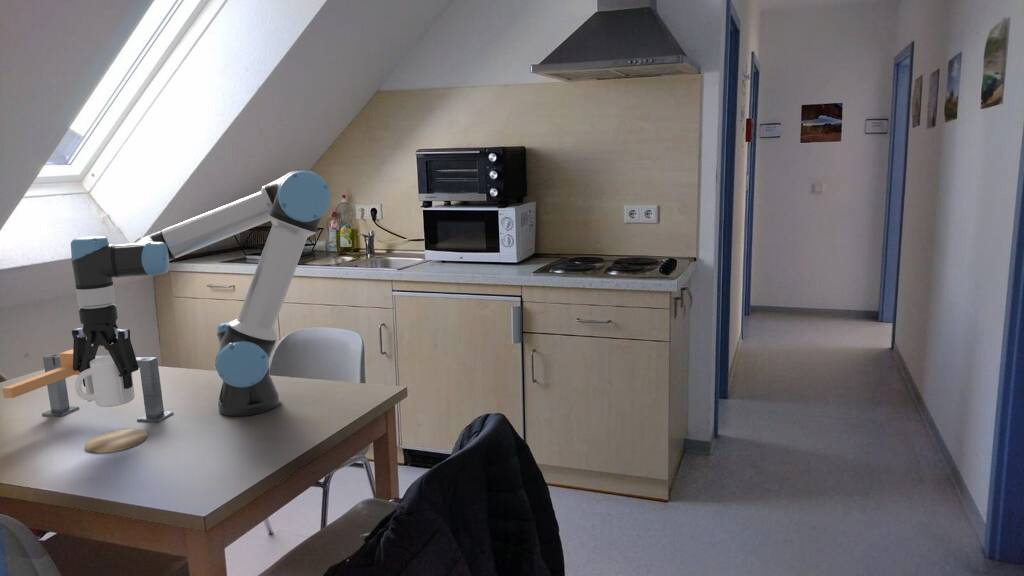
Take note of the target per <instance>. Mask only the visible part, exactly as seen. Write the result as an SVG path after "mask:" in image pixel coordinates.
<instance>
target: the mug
mask: <svg viewBox="0 0 1024 576" xmlns="http://www.w3.org/2000/svg"><path fill="white" fill-rule="evenodd" d="M102 356H103V357H99V358H95V359H93V360H91V361H90V368H89V369H86V370H84V371H82V372H81V373H80V374H79V375H77V377H76V378H75V381H74V389H75V393H76V395H77V396H78V397H79V398H80V399H82V400H84V401H87V400H93V401H95V404H96V405H97V406H98V407H101V408H111V407H119V406H122V405H123V406H124V405H125V404H129V403H130V402H132V401H133V400H134V399H135V387H134V380H133V373H132V374H131V376H132V384H133V385H132V387H131V394H132V400H131V401H129V402H126V403H124V404H121V399H120V391H119V384H118V375H120V372H119V370H118V368H117V367H116V365H115V363H114V361H113V359H112V357H111V355H110V354H109V355H102ZM124 369H125V368H124ZM89 375H91V376H92V384H93V391H94V394H86V393H85V392H84V390H83V388H82V385H83V379H84V378H85V377H87V376H89Z"/></svg>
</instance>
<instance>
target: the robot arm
mask: <svg viewBox="0 0 1024 576" xmlns="http://www.w3.org/2000/svg"><path fill="white" fill-rule="evenodd" d="M330 203H331V191H330V188H329V185H328V183H327V182H326V180H325V179H324V178H323V177H322V176H321V175H320V174H318V173H316V172H314V171H311V170H308V169H295V170H291V171H289V172H287V173H286V174H285V175H283V176H281V177H280V178H278V179H276V180H273V181H272V182H269V183H267V184H265V185H263V186H262V187H261V188H260V191H258V192H256V193H253V194H250V195H248V196H245V197H243V198H240V199H238V200H235V201H232V202H231V203H228V204H225V205H222V206H220V207H218V208H215V209H213V210H209V211H207V212H205V213H202V214H200V215H196V216H195V217H192V218H189V219H187V220H184V221H183V222H179V223H177V224H174V225H172V226H169V227H166V228H164V229H162V230H159V231H156V232H153V233H152V234H148V235H144V236H142V237H139V238H137V239H136V240H135V241H134V242H133V243H124V244H122V243H120V244H116V243H115V244H112V243H111V244H110V242H109V240H108V237H106V236H104V235H103V236H102V235H98V236H97V235H95V236H94V235H91V236H81V237H75V238H74V239H72V240H71V242H70V253H71V258H70V261H71V265H72V270H73V278H74V283H75V290H76V291H75V292H76V301H77V305H78V306H79V309H78V316H79V321H80V324H82V325H83V326H81V327H78V328H74V329H72V330H71V334H72V340H73V347H72V349H73V370H74V371H79V372H80V373H81V372H82V371H84V370H86V369H89V368H90V361H91V360H93V359H95V357H96V356H97V354H98V349H99V347H103V348H104V350H107V351H108V354H109V355H111V357H112V359H113V361H114V363H115V365H116V367H117V368H118V370H119V372H120V375H118V384H119V391H120V399H121V404H123V405H125V404H124V403H126V402H129V401H131V400H132V394H131V387H132V385H133V386H134V383H133V384H132V378H133V373H134V372H137V371H138V370H140V368H139V367H138V364H137V360H136V357H137V356H136V354H135V351H134V348H133V343H132V341H131V330H130V329H129V328H126V329H120V328H119V327H118V325H117V320H118V309H117V305H116V304H115V303H114V302H115V301H116V297H115V287H114V278H126V277H142V276H144V277H146V276H150V277H153V276H157V275H165V274H167V273H168V272H169V271H170V261H173V260H175V259H177V258H180V257H183V256H184V255H187V254H190V253H192V252H195V251H197V250H199V249H202V248H205V247H207V246H210V245H212V244H215V243H217V242H220V241H222V240H224V239H228V238H230V237H232V236H235V235H237V234H241V233H242V232H244V231H247V230H249V229H253V228H256V227H257V226H260V225H263V224H265V223H268V222H271V225H272V226H271V228H270V231H269V232H268V233H269V234H268V236H267V239H266V242H265V245H264V246H263V249H262V252H261V255H260V258H259V260H258V263H257V266H256V269H255V271H254V273H253V276H252V279H251V282H250V284H249V286H248V287H249V288H248V290H247V291H246V292H247V293H246V295H245V298H244V301H243V304H242V307H241V308H240V311H239V314H238V317H237V318H236V319H233V320H231V321H227V322H223V323H220V324H219V325H218V326H217V328H216V329H217V333H216V336H217V338H218V350H217V355H216V358H215V361H214V362H215V364H214V365H215V369H216V371H217V374H218V377H220V378H221V380H222V384H221V387H220V393H219V397H218V401H217V405H218V412H219V413H220V414H221V415H225V416H228V417H229V416H231V417H243V416H244V417H245V416H252V415H258V414H262V413H266V412H269V411H271V410H273V409H274V408H277V406H279V404H280V395H279V392H278V390H277V388H276V385H275V384H274V381H273V379H272V377H271V374H270V362H269V361H270V358H271V354H272V352H273V349H274V347H275V344H276V341H277V339H278V336H277V333H276V332H275V330H274V329H275V326H276V322H277V320H278V318H279V315H280V313H281V311H282V307H283V305H284V302H285V300H286V296H287V293H288V291H289V288H290V286H291V284H292V283H291V282H292V280H293V277H294V274H295V272H296V269H297V266H298V263H299V261H300V259H301V256H302V253H303V251H304V248H305V245H306V242H307V239H309V237H311V236H314V235H316V234H317V232H318V229H319V226H320V224H321V221H322V218H323V215H324V214H325V213H326V212H327V211H328V209H329V206H330ZM124 368H125V369H124ZM131 374H132V376H131ZM82 385H83V387H85V392H86V393H85V394H94V391H93V384H92V376H91V375H89V376H87V377H85V378H84V379H83V381H82ZM86 401H87V402H89V403H90V402H93V401H94V400H86ZM132 401H133V400H132ZM132 401H131V402H132ZM129 403H130V402H129ZM126 404H127V403H126Z"/></svg>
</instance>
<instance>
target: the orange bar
mask: <svg viewBox="0 0 1024 576" xmlns="http://www.w3.org/2000/svg"><path fill="white" fill-rule="evenodd" d="M58 354H60V355H59V356H60V363H61V367H59V368H57V369H54V370H51V371H48V372H46V373H45V372H43V373H40V374H37V375H34V376H32V377H30V378H26V379H24V380H21V381H18V382H15V383H12V384H9V385H7V386H4V387H2V388H1V389H2V394H3V398H4V399H15V398H16V397H19V396H22V395H25V394H28V393H30V392H33V391H35V390H38V389H41V388H43V387H45V386H46V387H47V385H49V384H51V383H54V382H57V381H59V380H62V379H65V380H66V379H67V378H69V377H72V376H78V375H79V374H80V372H79V371H74V370H73V348H72V349H69V350H66V351H63V352H60V353H58Z"/></svg>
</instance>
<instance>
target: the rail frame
mask: <svg viewBox="0 0 1024 576" xmlns="http://www.w3.org/2000/svg"><path fill="white" fill-rule="evenodd" d="M59 355H60V354H59V353H51V354H48V355H44V356H42V359H43V360H42V361H43V368H44V373H46V372H48V371H51V370H54V369H57V368H59V367H61V363H60V356H59ZM103 356H104V355H96V357H95V358H99V357H103ZM135 357H136V360H137V364H138V367H139V372H140V379H141V388H142V396H143V404H144V412H145V414H143V415H142V416H140V417H138V418H136V421H137V422H146V423H148V422H149V423H160V422H161V421H163V420H165V419H167V418H169V417H170V416H172V415H174V411H168V410H166V411H165V409H164V401H163V395H162V385H161V384H162V383H161V378H160V377H161V376H160V370H159V361H158V357H157V356H156V357H153V356H151V357H149V356H147V357H143V356H142V357H141V356H140V357H139V356H138V357H137V356H135ZM46 387H47V394H48V399H49V405H50V409H49V410H46V411H45V412H41V415H42V417H43V416H44V417H63V416H65V415H69V414H70V413H73V412H75V411H78V410H80V407H79V406H74V405H70V402H69V401H70V400H69V394H68V388H67V380H66V378H65V379H62V380H59V381H57V382H54V383H51V384H49V385H46Z"/></svg>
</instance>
